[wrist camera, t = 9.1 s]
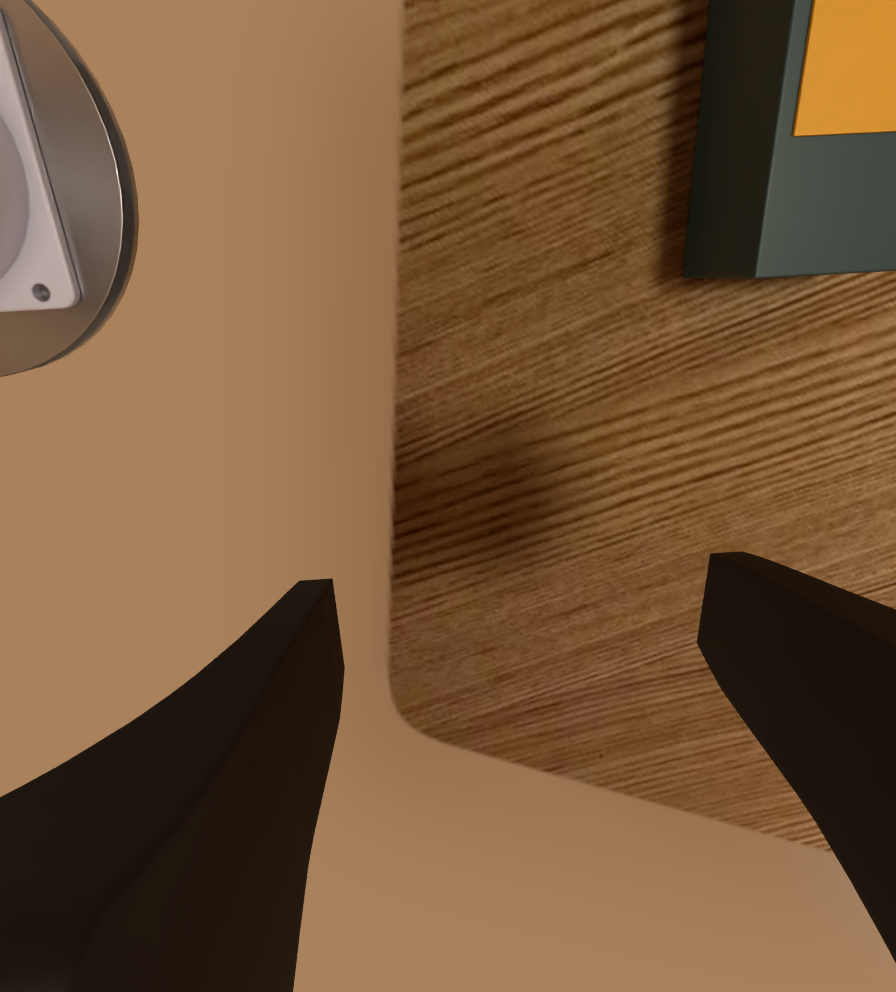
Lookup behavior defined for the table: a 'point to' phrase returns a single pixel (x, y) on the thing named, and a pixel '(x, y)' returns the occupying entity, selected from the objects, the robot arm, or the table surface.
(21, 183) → the robot arm
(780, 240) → the packet
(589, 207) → the table surface
